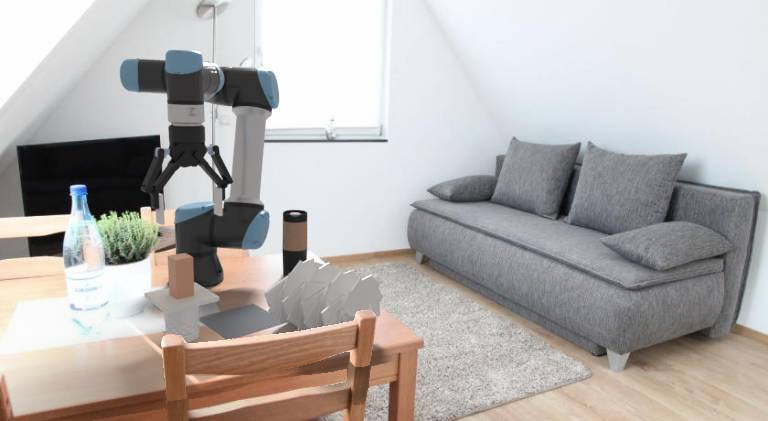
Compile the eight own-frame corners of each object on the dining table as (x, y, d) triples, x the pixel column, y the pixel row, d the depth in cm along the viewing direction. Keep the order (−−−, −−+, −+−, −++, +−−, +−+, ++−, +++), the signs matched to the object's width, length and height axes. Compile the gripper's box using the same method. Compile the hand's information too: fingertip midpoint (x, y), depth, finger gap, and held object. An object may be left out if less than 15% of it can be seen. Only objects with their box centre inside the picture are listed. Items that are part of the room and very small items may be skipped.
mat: (196, 321, 138) (195, 318, 138) (252, 306, 149) (252, 303, 149) (228, 343, 127) (228, 340, 127) (287, 325, 138) (287, 322, 138)
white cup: (189, 349, 123) (188, 307, 121) (157, 345, 125) (155, 303, 123) (207, 335, 131) (206, 294, 129) (177, 331, 132) (175, 291, 130)
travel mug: (294, 268, 181) (295, 208, 177) (311, 273, 177) (312, 212, 173) (277, 274, 175) (277, 212, 171) (294, 279, 171) (295, 216, 167)
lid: (144, 297, 126) (142, 254, 124) (195, 286, 134) (194, 246, 132) (166, 313, 117) (164, 268, 115) (219, 300, 125) (218, 258, 123)
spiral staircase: (301, 331, 145) (379, 355, 130) (252, 321, 131) (333, 348, 116) (320, 262, 148) (398, 279, 133) (275, 246, 134) (356, 263, 119)
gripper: (134, 127, 110) (140, 231, 115) (246, 124, 127) (248, 214, 132) (120, 124, 115) (127, 223, 120) (230, 121, 132) (232, 208, 137)
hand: (190, 219), depth 126 cm, fingers open, 13 cm apart
